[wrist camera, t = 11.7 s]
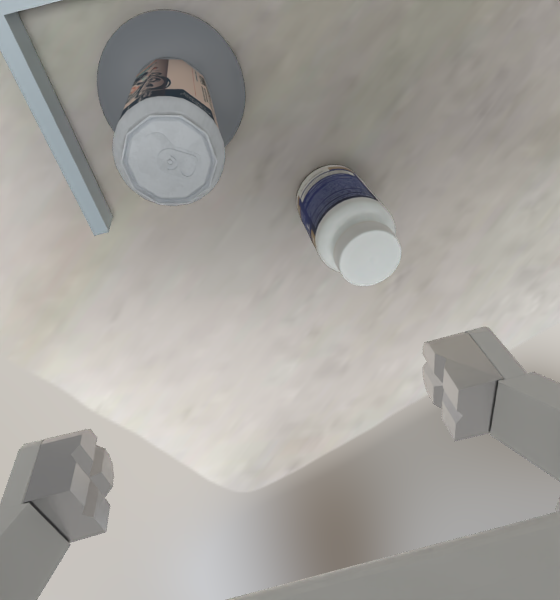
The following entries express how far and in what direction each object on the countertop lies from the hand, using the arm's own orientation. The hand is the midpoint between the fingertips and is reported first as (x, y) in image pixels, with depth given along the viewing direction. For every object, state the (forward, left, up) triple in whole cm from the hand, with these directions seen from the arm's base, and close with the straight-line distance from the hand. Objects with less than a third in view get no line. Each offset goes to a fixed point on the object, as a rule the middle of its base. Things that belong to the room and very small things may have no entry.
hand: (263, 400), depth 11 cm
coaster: (+2, -2, -25) cm, 25 cm away
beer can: (+2, -2, -24) cm, 24 cm away
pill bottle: (-7, +8, -25) cm, 27 cm away
